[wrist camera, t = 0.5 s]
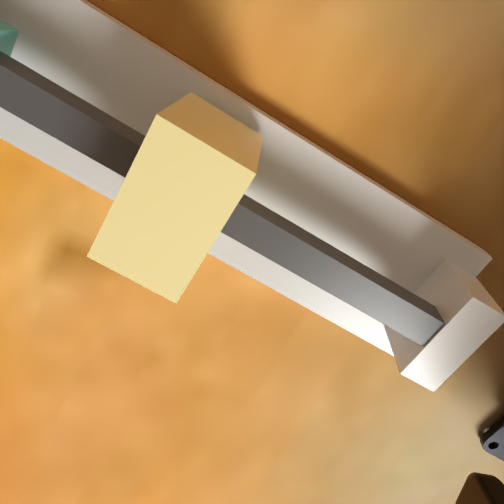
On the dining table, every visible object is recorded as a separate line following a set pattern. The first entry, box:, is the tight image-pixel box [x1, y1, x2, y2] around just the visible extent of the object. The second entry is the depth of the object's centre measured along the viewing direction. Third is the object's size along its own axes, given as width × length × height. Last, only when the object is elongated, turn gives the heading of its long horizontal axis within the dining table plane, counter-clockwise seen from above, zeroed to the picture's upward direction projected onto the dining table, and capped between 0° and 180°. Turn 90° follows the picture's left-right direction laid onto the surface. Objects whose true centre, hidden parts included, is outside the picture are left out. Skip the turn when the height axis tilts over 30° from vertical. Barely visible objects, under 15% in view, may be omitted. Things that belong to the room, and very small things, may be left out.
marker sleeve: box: [87, 92, 263, 303], centre depth 16 cm, size 3×5×5 cm, turn 149°
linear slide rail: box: [0, 0, 504, 392], centre depth 17 cm, size 22×6×5 cm, turn 59°
